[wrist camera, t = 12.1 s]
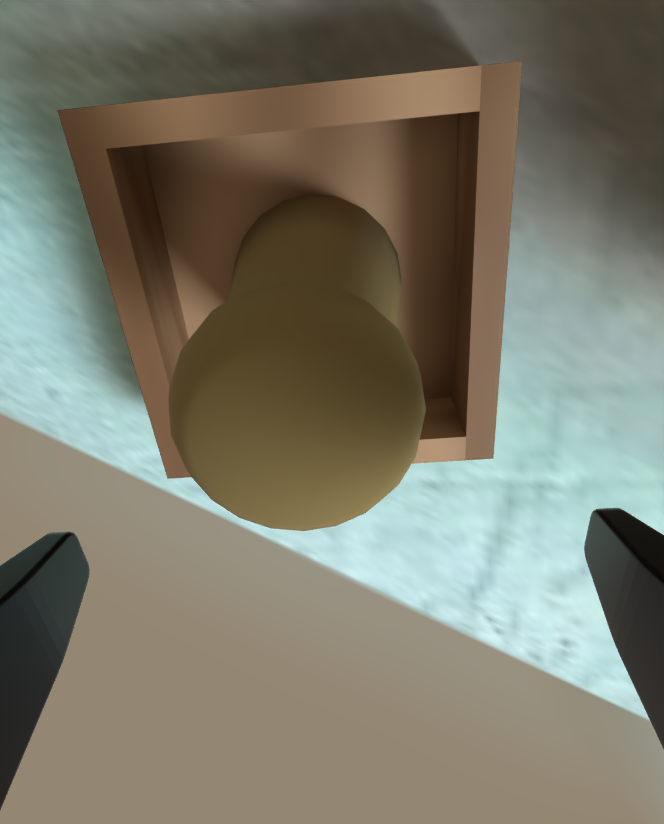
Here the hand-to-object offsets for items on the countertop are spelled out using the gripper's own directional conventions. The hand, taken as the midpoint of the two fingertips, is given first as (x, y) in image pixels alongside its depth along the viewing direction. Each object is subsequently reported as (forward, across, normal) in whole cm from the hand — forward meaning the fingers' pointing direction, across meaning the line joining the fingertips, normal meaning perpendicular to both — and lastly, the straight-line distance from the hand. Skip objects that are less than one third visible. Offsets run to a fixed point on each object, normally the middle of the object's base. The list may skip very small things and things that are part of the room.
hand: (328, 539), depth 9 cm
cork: (+12, +1, -1) cm, 12 cm away
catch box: (+13, +1, -1) cm, 13 cm away
